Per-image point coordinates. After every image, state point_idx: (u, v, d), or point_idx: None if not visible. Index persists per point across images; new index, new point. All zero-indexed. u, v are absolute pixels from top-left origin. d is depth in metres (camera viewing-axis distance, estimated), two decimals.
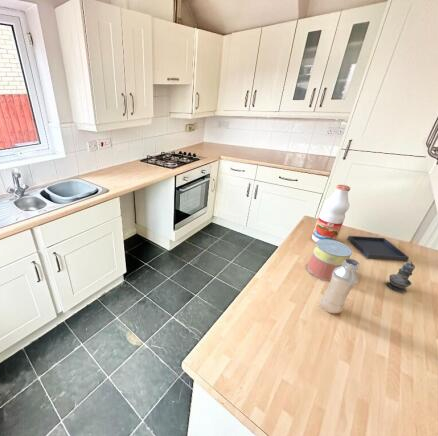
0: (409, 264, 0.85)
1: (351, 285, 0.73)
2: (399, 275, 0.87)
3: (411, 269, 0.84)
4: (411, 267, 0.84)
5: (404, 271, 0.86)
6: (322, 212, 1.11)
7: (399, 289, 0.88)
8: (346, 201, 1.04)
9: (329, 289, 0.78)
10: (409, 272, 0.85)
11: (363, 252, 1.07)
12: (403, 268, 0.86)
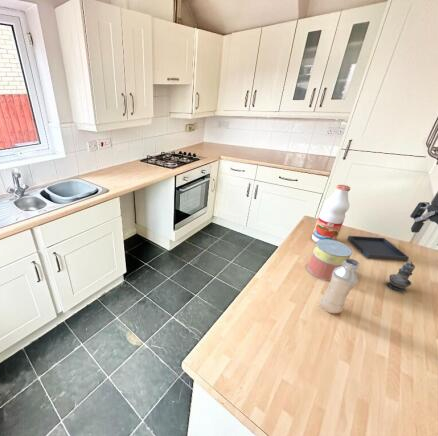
0: (409, 264, 0.85)
1: (351, 285, 0.73)
2: (399, 275, 0.87)
3: (411, 269, 0.84)
4: (411, 267, 0.84)
5: (404, 271, 0.86)
6: (322, 212, 1.11)
7: (399, 289, 0.88)
8: (346, 201, 1.04)
9: (329, 289, 0.78)
10: (409, 272, 0.85)
11: (363, 252, 1.07)
12: (403, 268, 0.86)
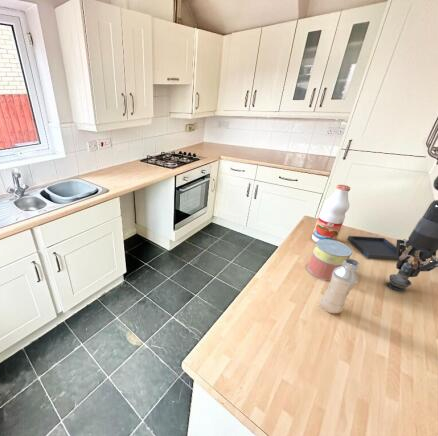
0: (409, 264, 0.85)
1: (351, 285, 0.73)
2: (399, 275, 0.87)
3: None
4: (411, 267, 0.84)
5: (404, 271, 0.86)
6: (322, 212, 1.11)
7: (399, 289, 0.88)
8: (346, 201, 1.04)
9: (329, 289, 0.78)
10: None
11: (363, 252, 1.07)
12: (403, 268, 0.86)
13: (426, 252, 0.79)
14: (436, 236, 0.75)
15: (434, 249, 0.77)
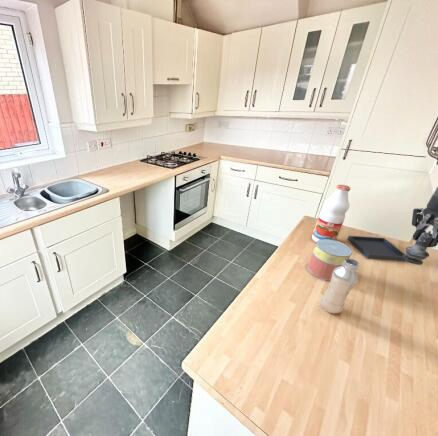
0: (427, 234, 0.79)
1: (351, 285, 0.73)
2: (416, 247, 0.82)
3: None
4: (429, 237, 0.79)
5: (422, 241, 0.81)
6: (322, 212, 1.11)
7: (416, 261, 0.83)
8: (346, 201, 1.04)
9: (329, 289, 0.78)
10: None
11: (363, 252, 1.07)
12: (421, 238, 0.81)
13: None
14: None
15: None
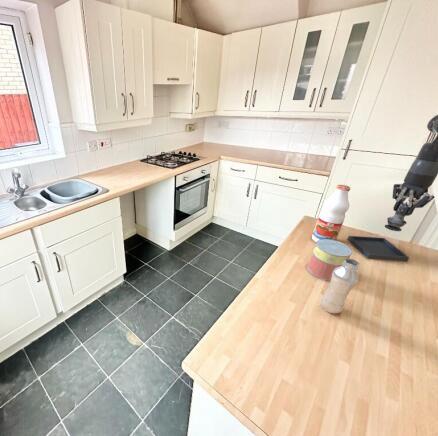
0: (404, 204, 0.95)
1: (351, 285, 0.73)
2: (396, 216, 0.98)
3: None
4: (406, 206, 0.95)
5: (400, 211, 0.96)
6: (322, 212, 1.11)
7: (396, 229, 0.99)
8: (346, 201, 1.04)
9: (329, 289, 0.78)
10: None
11: (363, 252, 1.07)
12: (399, 208, 0.96)
13: (419, 190, 0.90)
14: (427, 173, 0.86)
15: (426, 186, 0.88)
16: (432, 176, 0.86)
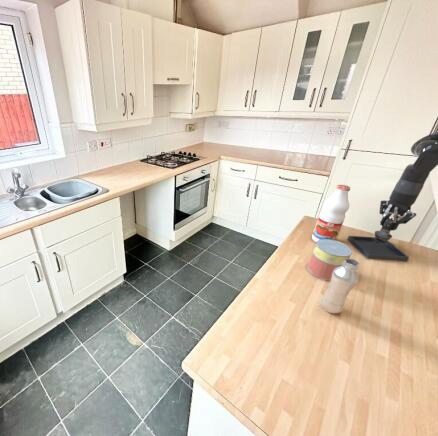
0: (390, 220, 1.03)
1: (351, 285, 0.73)
2: (382, 230, 1.05)
3: None
4: (391, 222, 1.02)
5: (386, 226, 1.04)
6: (322, 212, 1.11)
7: (382, 242, 1.07)
8: (346, 201, 1.04)
9: (329, 289, 0.78)
10: None
11: (363, 252, 1.07)
12: (385, 223, 1.04)
13: (403, 207, 0.97)
14: (410, 193, 0.94)
15: (409, 204, 0.96)
16: (414, 195, 0.94)
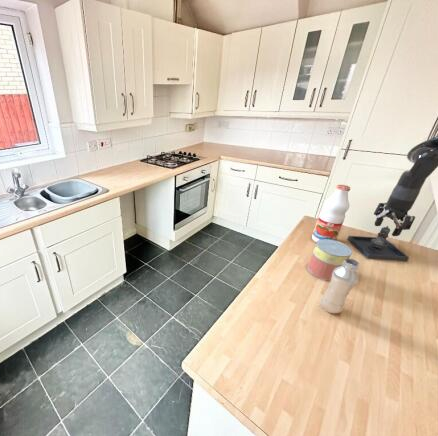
0: (385, 228, 1.05)
1: (351, 285, 0.73)
2: (378, 238, 1.07)
3: (387, 232, 1.05)
4: (387, 230, 1.04)
5: (382, 234, 1.06)
6: (322, 212, 1.11)
7: (378, 249, 1.09)
8: (346, 201, 1.04)
9: (329, 289, 0.78)
10: (386, 234, 1.05)
11: (363, 252, 1.07)
12: (381, 231, 1.06)
13: (400, 213, 0.98)
14: (406, 199, 0.95)
15: (405, 210, 0.97)
16: (411, 201, 0.95)
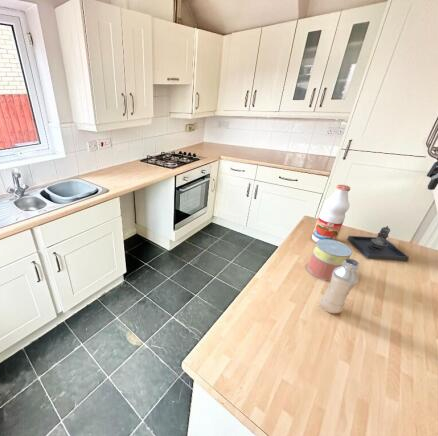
0: (385, 228, 1.05)
1: (351, 285, 0.73)
2: (378, 238, 1.07)
3: (387, 232, 1.05)
4: (387, 230, 1.04)
5: (382, 234, 1.06)
6: (322, 212, 1.11)
7: (378, 249, 1.09)
8: (346, 201, 1.04)
9: (329, 289, 0.78)
10: (386, 234, 1.05)
11: (363, 252, 1.07)
12: (381, 231, 1.06)
13: None
14: None
15: None
16: None
